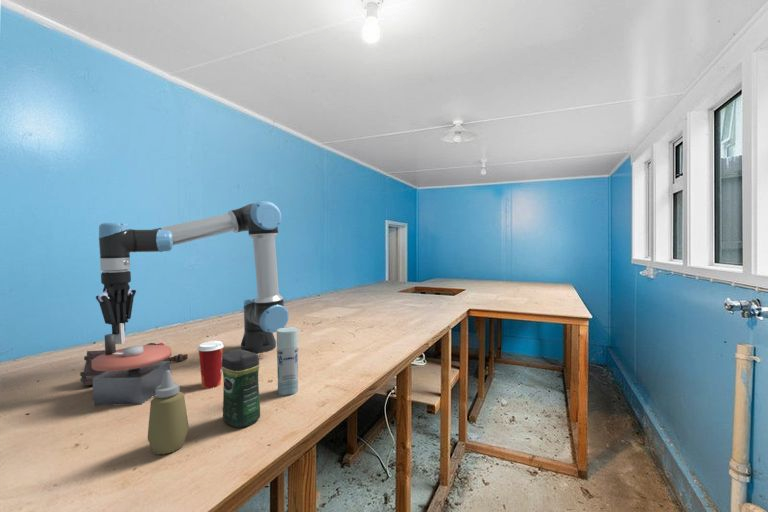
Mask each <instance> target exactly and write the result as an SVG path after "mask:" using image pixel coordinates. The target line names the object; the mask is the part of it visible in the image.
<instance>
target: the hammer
mask: <svg viewBox="0 0 768 512" xmlns="http://www.w3.org/2000/svg"><path fill="white" fill-rule="evenodd" d="M102 354H105V349H103V350H87V351H86V355H85V356H84V358H83V359H84V361H85V364H84V369H83V371H82V372H79V376H80V380H79V381H80V383H82V384H84V386H91V385H92V386H93V378H94V377H96V376H98V375H100V374H102V373H104V372H105V371H96V370H93V369H92V363H91V361H92V360H93V359H94V358H96V357H97V356H100V355H102ZM187 359H189V357H188V353H187V354H186V353H185V354H182V353H179V354H177V355H173V356H170V357H169V358H167V359H165V360H163V361H170V363H172V362H179V361H181V362H182V361H183V360H187Z"/></svg>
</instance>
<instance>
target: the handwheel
mask: <svg viewBox="0 0 768 512" xmlns="http://www.w3.org/2000/svg"><path fill="white" fill-rule="evenodd" d="M116 345H117V344H115V334H112V333H108V334H104V350H105V354H102V355H100V356H97V357H96V358H94V359H93V360H92V361H91V363H92V369H93V370H96V371H105V372H110V371H123V370H133V369H137V368H141V367H145V366H149V365H152V364H156V363H158V362H161V361H163V360H165V359H167V358H169V357H172V348H171V347H170V346H168V345H165V344H164V345H146V344H144V346H143V345H132V346H128V347H124V348H120V349H117V348H116Z"/></svg>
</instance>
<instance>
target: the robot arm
mask: <svg viewBox="0 0 768 512" xmlns="http://www.w3.org/2000/svg"><path fill="white" fill-rule="evenodd" d="M281 222H282V213H281V210H280V208H279V207H278V206H277V205H276V204H274V202H272V201H267V200H262V201H261V200H260V201H259V200H258V201H255V202H253V203H248V204H247V205H245V206H241V207H239V208H236V209H232V210H228V212H227V213H225V214H220V215H215V216H214V215H213V216H210V217H205V218H201V219H200V218H199V219H195V220H192V221H186V222H181V223H176V224H172V225H167V226H163V227H158V228H152V229H132V228H131V229H130V227H129V224H128V223H125V222H124V223H123V222H122V223H121V222H102V223H101V224H100V225H99V226H98V242H99V243H98V246H99V264H100V265H99V266H100V267H99V268H100V271H101V273H100V281H101V282H100V283H101V284H102V285H103V289H102V293H101V294H100V295H96V296H95V299H96V301H97V302H98V305H99V307H100V311H101V314H102V316H103V320H104V323H105V325H106V324H107V325H111V334H115V345H123V344H125V343H126V339H125V337H126V335H125V332H126V323H128V322H129V320H130V319H131V318H132V312H133V305H134V299H135V298H134V297H135V296H136V293H137V290H136V289H131V287H130V284H129V283H131V281H132V275H131V274H132V272H131V271H130V269H131V259H130V257H131V255H130V254H131V253H152V252H153V253H154V252H155V253H157V252H158V253H159V252H160V253H162V252H170V251H172V249H173V246H175V245H181V244H184V243H189V242H194V241H198V240H201V239H206V238H210V237H213V236H214V237H215V236H218V235H221V234H226V233H230V232H233V233H241V232H248V236H249V237H250V238H251V239H252V243H253V255H254V266H255V280H256V290H257V291H256V292H257V297H252V298H246V299H245V300H244V301H243V320H244V321H243V323H244V324H243V325H244V330H243V331H244V333H243V335H242V339H241V343H240V348H239V349H241V350H245V351H249V352H252V353H255V354H257V353H266V352H268V351H272V350H274V349H275V348H277V339H276V338H275V335H274V333H277V330H278V329H280V328H284V327H286V326H287V324H288V323H289V319H290V314H289V310H288V309H287V308H286V306H285V305H284V304H285V302H284V297H283V296H282V295H281V294H280V289H279V287H280V286H279V275H278V274H279V273H278V263H277V262H278V261H277V251H276V250H277V249H276V237H277V236H278V235H279V225H280V224H281Z"/></svg>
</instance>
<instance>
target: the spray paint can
mask: <svg viewBox="0 0 768 512" xmlns="http://www.w3.org/2000/svg"><path fill="white" fill-rule="evenodd" d="M276 360H277V361H276V367H277V371H276V372H277V394H278V395H280V396H283V397H287V396H292V395H295V394H297V393H298V391H299V329H298V327H295V326H293V327H292V326H287V327H286V326H285V327H284V328H280V329H278V330H277V332H276Z"/></svg>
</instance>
